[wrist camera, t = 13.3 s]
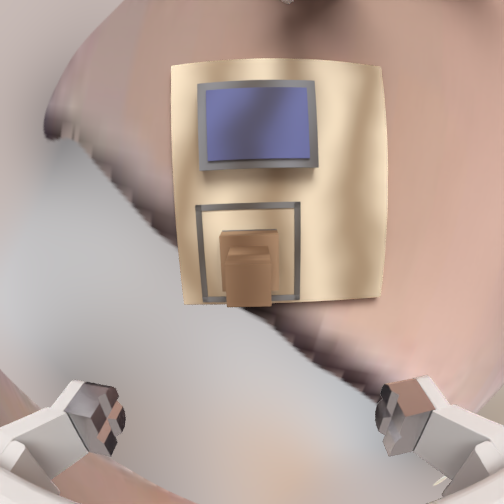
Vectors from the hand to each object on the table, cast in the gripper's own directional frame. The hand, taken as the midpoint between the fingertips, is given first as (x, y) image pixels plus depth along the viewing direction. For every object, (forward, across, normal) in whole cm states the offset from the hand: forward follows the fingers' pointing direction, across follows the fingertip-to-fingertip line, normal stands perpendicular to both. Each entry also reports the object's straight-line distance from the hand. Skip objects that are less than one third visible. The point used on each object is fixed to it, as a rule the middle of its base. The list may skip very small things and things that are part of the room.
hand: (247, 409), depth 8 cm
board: (+19, -3, -6) cm, 20 cm away
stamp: (+18, 0, 0) cm, 18 cm away
